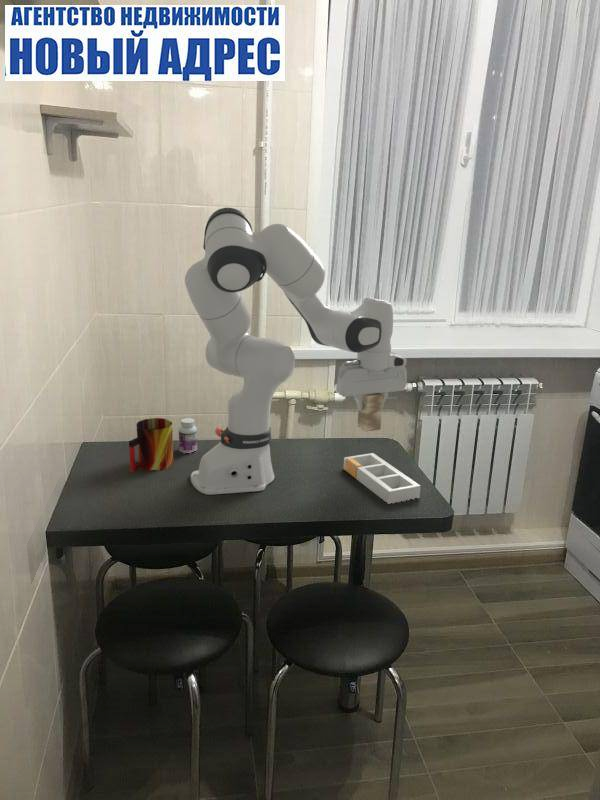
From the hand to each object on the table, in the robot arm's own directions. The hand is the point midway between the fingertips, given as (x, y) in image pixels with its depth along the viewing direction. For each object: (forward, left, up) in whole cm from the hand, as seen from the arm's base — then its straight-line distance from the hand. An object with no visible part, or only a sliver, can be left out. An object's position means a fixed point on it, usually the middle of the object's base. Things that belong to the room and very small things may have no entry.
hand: (370, 408), depth 174 cm
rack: (0, -8, -19) cm, 20 cm away
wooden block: (0, 0, -6) cm, 6 cm away
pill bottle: (-42, +32, -19) cm, 57 cm away
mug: (-54, +24, -19) cm, 62 cm away
